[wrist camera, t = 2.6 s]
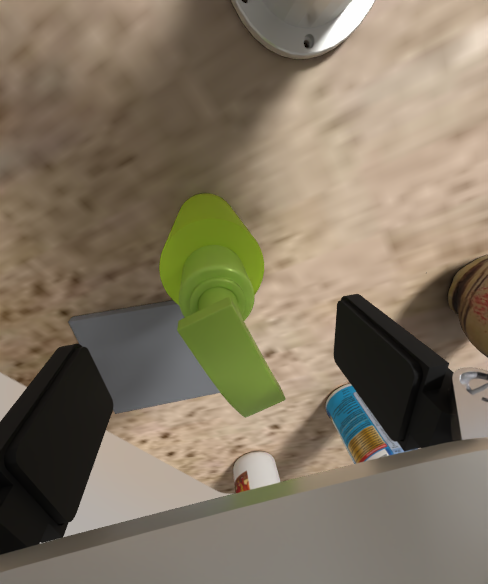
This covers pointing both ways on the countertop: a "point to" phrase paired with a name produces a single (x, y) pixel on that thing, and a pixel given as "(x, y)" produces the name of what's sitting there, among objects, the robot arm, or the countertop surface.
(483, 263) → the ceramic jug
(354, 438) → the beverage bottle
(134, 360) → the charcoal mat
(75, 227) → the countertop surface
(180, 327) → the soap dispenser
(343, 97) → the countertop surface
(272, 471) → the milk bottle
